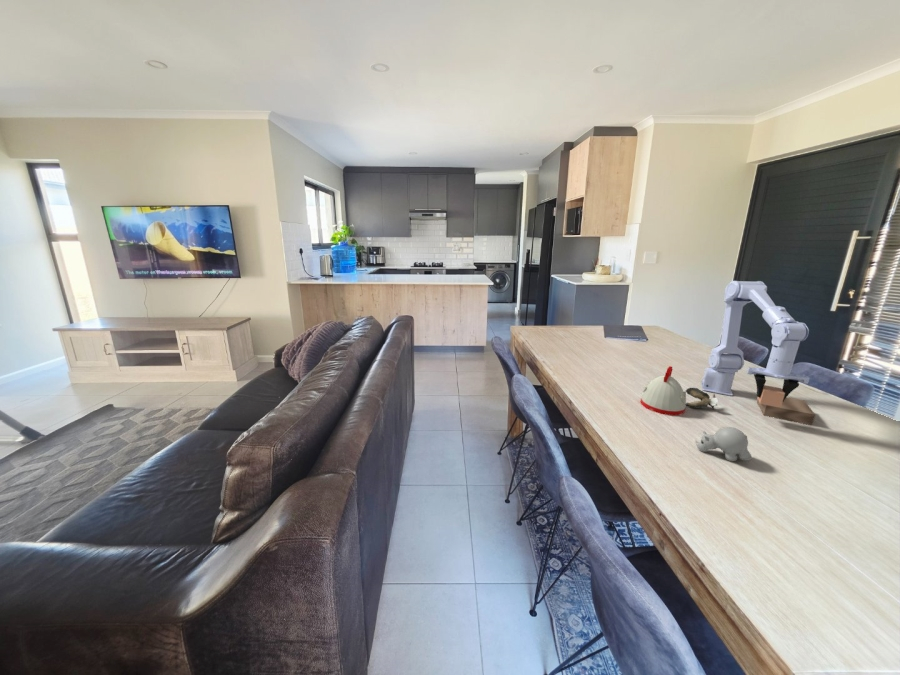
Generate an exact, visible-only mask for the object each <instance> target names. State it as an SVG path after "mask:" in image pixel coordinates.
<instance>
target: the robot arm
mask: <svg viewBox="0 0 900 675" xmlns="http://www.w3.org/2000/svg"><path fill="white" fill-rule="evenodd" d="M724 290H725V291H724V296H723V297H724V298H723V302H724V303H725V306H724V312H723V322H722V329H721V336H720V344H719V345H718V346H716V347H714V348H712V349H711V350H710V351H711V352H710V355H709V357H708V366H710V367H708V366H707V367H705V368H704V372H703V378H702V380H701V388H702V391H703V392H709V393H714V394H715V393H716V394H720V395H726V396H730V397H731V396H734V395H733V391H732V386H733V383H734V380H735V375H736V373H738V372H739V370H742V368H743V367H744V365H745V359H744V351H743V350H741V349H740V348H739V347H738V346H739V345H738V344H739V338H740V330H741V322H742V316H743V309H744V307H745V306H746V305H747V304H749V303H752V302H753V303H754V304H755V305H756V306H757V307H758V308H759V309H760V311H762V315H761V316H762V319H764V321H765V322H766V324H768V325H769V327H770V328H771V332H770V333H771V337H772V338H771V344H772V346H771V351H770V354H769V358H768V360H767V365H766V368H762V367H750V366H747V369H746V374H747V375H750V376H751V375H753V376H754V380H755V385H756V396H757V397H761V395H762V390H763V387H764V385H765V384H766V382H767V380H766V377H767V378H775V379H778V380H779V379H780V380H783V385H782V388H781V389H782V390H783V391H784V393H785V395H784V399H783V402H784V400H785V398H786V397H788V396H789V395H790V394H791V393H792V392H793V391H794V390H796V389H797V388H798V387H799V385H800V383H803V384H809V382H810V380H811V379H810V377H809V376H807V375H803V374H798V373H793V372H792V369H793V365H794V363H795V359H796V356H797V353H798V349H799V347H800V343H801V342H803V341H806V339H807V338H808V337H809V332H810V329H809V327H808V326H807V324H806V323H805V322H799V321H798V320H797V321H796V319H794V318H793V317H792V316H791V315H790V313H789V312H788V311H787V309H786V307H784V306H780V305H776V304H775V302H774V300H772V298H771V297H770V295H769V294H768V293H767V291H768V286H767V285H766V284H765V283H764V281H761V280H757V281H745V280H743V281H742V280H740V281H739V280H732V281H730V282H729V283H728V284H727V285H726V286H725V289H724ZM799 382H800V383H799Z"/></svg>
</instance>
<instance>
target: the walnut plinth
mask: <svg viewBox="0 0 900 675" xmlns="http://www.w3.org/2000/svg"><path fill="white" fill-rule="evenodd" d="M756 403H757V406H758V407H759V409H760V412H761V413H762V415H763V416H764V417H768V416H769V418H773V417H774V418H775V419H778V418H779V419H778V420H784V421H789V422H792V421H794V423H797V422H798V424H802V423H803V424H802V425H807V424H808V425H807V426H813V423H814V420H815V418H816V413H815V412H814V411H813V410H812V409H811V407H810V406H809V404H808V403H807V402H806V401H805V400H803V399H798V398H792V397H788V396H787V397H786V398H785V400H784V402H782V405H781V408H779V407H774V406H769V405H764V404H760V403H759V401H758V399H757V400H756Z"/></svg>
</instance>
